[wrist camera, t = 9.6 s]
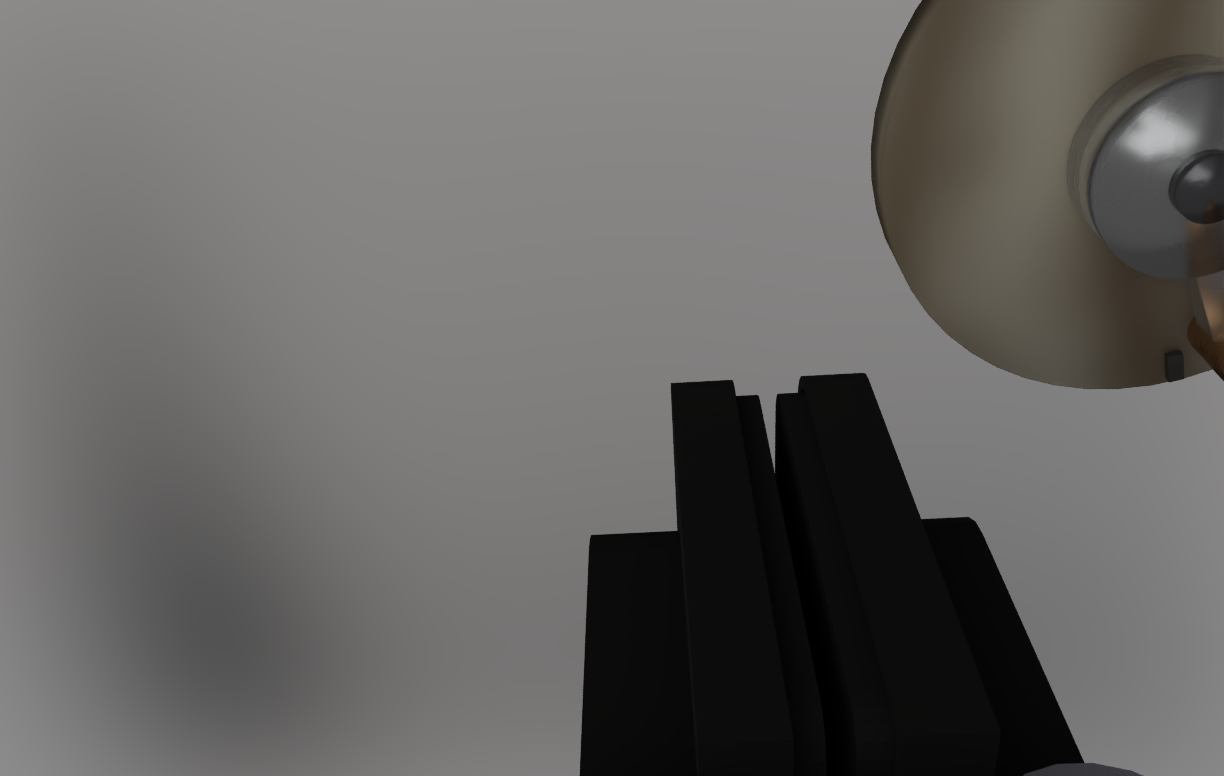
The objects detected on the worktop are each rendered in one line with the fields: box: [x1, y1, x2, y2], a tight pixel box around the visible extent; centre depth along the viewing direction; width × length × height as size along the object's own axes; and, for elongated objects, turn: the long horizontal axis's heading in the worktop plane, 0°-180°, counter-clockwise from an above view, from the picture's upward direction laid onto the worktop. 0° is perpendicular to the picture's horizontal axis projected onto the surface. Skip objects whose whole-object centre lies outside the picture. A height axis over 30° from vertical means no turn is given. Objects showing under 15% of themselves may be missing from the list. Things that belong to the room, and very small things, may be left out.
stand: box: [871, 0, 1224, 389], centre depth 35 cm, size 17×17×2 cm
